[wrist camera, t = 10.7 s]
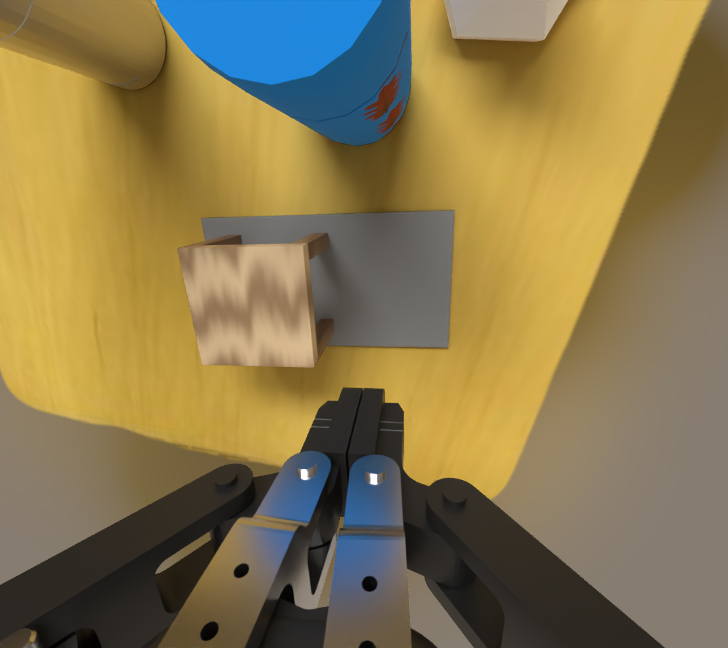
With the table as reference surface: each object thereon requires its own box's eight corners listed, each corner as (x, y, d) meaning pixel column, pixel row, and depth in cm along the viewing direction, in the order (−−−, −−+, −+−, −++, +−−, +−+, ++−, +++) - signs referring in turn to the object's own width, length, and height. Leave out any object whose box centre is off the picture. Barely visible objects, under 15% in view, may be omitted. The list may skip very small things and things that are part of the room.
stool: (327, 232, 42) (228, 235, 43) (302, 245, 33) (177, 248, 34) (334, 330, 46) (243, 329, 48) (314, 367, 37) (202, 364, 38)
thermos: (362, 170, 39) (289, 147, 16) (284, 97, 38) (80, -43, 15) (434, 78, 36) (473, -123, 13) (351, -7, 34) (220, -414, 11)
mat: (203, 218, 43) (201, 218, 43) (453, 210, 40) (454, 210, 39) (225, 342, 49) (224, 343, 49) (447, 346, 45) (448, 347, 45)
